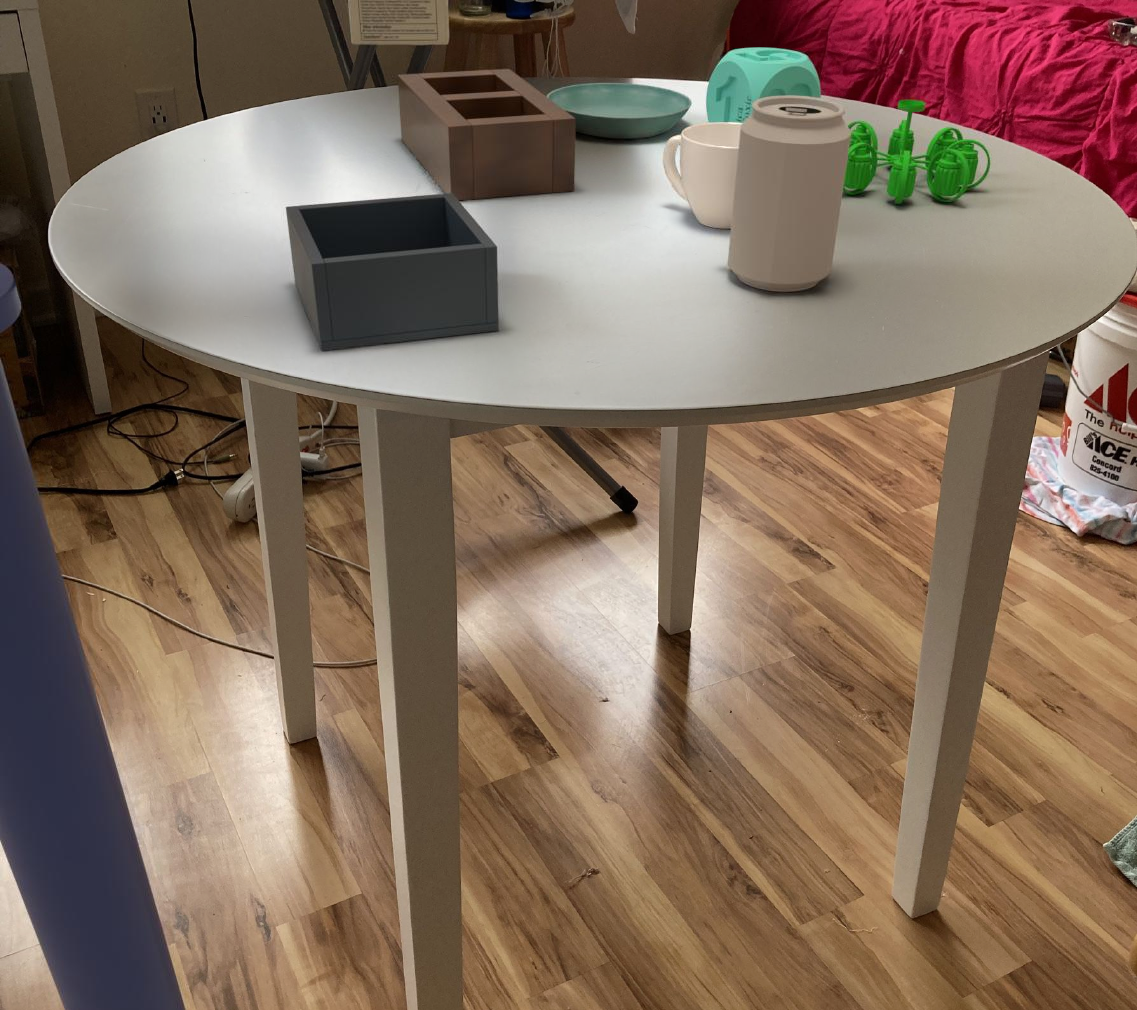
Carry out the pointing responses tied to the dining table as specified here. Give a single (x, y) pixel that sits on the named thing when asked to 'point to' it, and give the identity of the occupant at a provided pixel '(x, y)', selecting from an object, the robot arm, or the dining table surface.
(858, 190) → the chandelier
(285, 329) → the dining table surface
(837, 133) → the can
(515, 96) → the box
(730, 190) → the cup
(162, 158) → the dining table surface
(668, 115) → the saucer
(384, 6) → the cosmetic box
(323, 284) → the open box
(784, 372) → the dining table surface
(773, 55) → the decorative dice
